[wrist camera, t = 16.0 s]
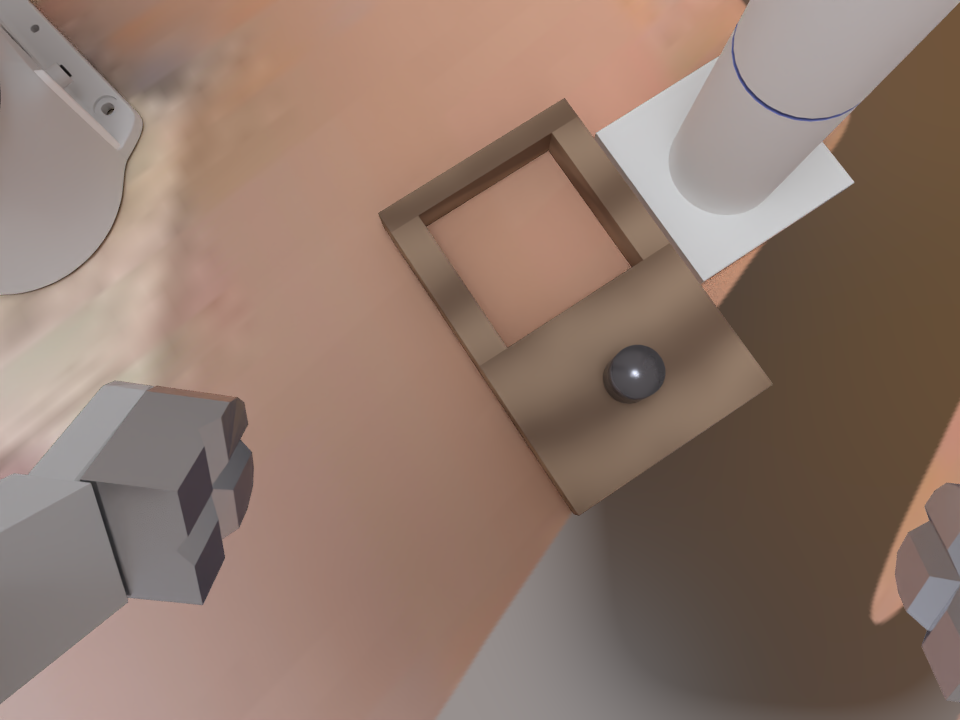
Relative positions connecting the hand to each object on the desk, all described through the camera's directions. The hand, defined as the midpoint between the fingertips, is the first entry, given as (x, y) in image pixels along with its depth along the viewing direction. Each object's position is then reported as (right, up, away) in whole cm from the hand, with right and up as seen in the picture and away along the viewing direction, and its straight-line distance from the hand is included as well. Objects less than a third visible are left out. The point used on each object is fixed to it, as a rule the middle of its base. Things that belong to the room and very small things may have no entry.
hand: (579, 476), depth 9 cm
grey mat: (+15, +14, +40) cm, 45 cm away
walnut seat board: (+4, +5, +39) cm, 39 cm away
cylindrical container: (+15, +14, +40) cm, 45 cm away
